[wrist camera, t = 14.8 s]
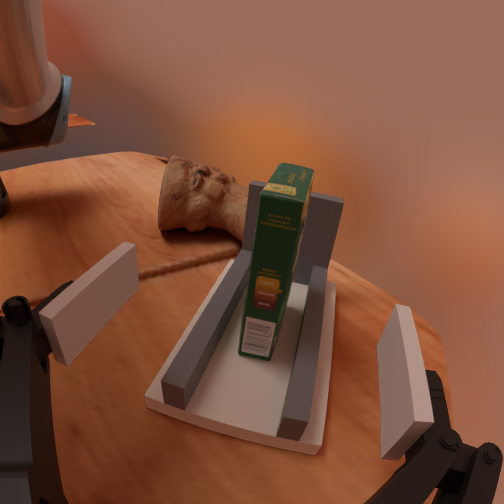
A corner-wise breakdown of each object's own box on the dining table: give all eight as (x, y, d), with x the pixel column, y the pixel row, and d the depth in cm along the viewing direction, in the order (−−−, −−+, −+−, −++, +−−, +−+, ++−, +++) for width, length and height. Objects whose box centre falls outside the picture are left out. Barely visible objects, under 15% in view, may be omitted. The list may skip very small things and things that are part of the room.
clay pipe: (215, 228, 56) (132, 212, 46) (236, 170, 53) (153, 144, 43) (278, 284, 42) (171, 274, 32) (312, 208, 39) (205, 174, 30)
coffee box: (271, 367, 23) (308, 197, 17) (234, 357, 24) (256, 187, 17) (288, 305, 30) (316, 168, 24) (258, 298, 31) (280, 160, 24)
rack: (146, 407, 20) (125, 278, 15) (229, 270, 37) (239, 177, 32) (315, 455, 18) (379, 341, 13) (332, 294, 35) (358, 201, 30)
